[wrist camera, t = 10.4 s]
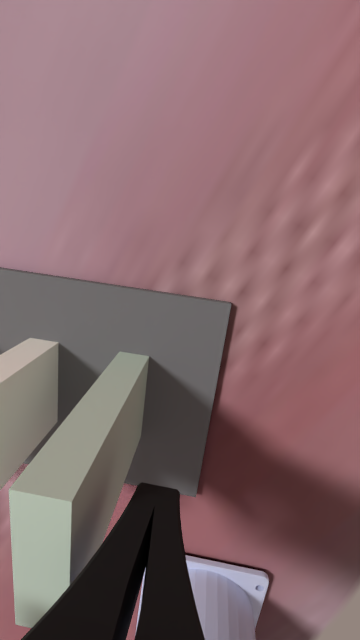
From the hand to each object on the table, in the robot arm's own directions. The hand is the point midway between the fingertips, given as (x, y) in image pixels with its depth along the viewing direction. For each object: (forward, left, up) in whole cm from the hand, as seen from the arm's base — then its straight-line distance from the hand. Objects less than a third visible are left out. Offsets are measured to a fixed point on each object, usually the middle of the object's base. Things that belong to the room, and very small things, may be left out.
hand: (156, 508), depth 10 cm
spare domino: (0, +3, -6) cm, 7 cm away
